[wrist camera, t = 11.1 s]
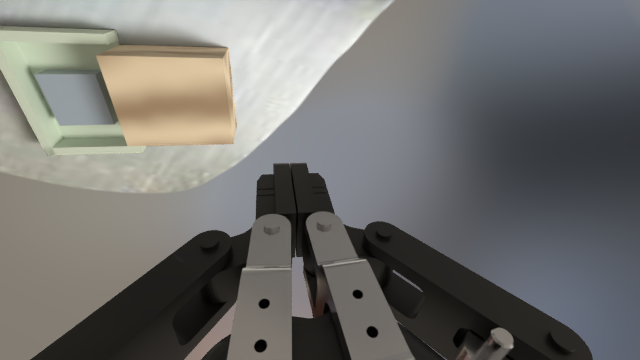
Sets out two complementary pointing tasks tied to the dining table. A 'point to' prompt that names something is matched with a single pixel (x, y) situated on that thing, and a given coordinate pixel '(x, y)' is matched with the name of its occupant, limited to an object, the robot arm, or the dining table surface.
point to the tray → (58, 54)
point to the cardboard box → (171, 94)
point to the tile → (77, 97)
